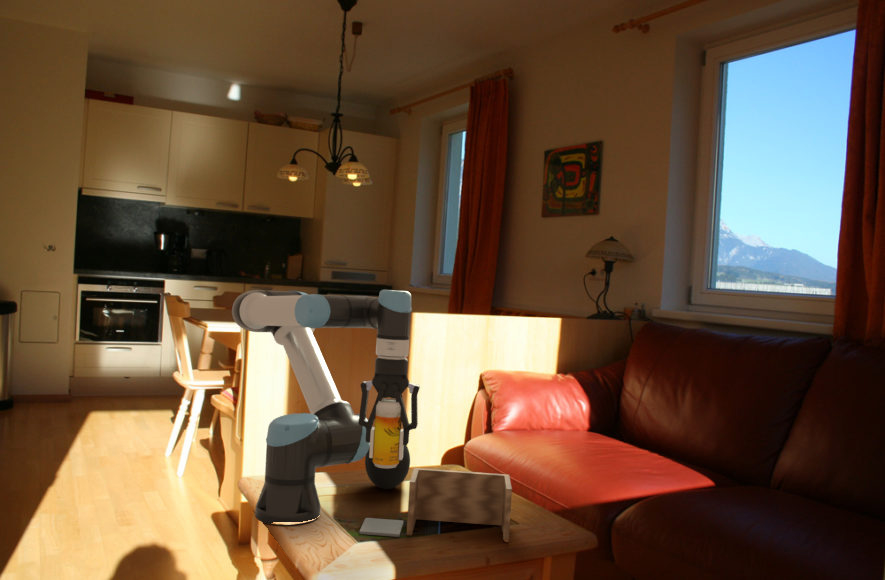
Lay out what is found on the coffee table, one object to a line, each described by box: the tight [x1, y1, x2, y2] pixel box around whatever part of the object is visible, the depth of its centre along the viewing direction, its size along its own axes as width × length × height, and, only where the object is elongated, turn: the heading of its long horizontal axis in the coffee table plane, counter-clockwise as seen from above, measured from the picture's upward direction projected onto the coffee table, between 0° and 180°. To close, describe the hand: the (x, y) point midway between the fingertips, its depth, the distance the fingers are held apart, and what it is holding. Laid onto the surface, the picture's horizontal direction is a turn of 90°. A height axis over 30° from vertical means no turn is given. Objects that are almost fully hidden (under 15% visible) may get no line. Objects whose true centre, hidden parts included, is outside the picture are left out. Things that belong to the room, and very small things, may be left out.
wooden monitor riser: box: [406, 467, 513, 541], centre depth 161 cm, size 23×12×12 cm, turn 87°
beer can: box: [373, 398, 402, 468], centre depth 159 cm, size 6×6×15 cm
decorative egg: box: [364, 444, 411, 490], centre depth 190 cm, size 12×12×15 cm
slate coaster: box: [358, 517, 404, 538], centre depth 159 cm, size 9×9×1 cm
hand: (386, 457), depth 159 cm, fingers closed on beer can, 6 cm apart
